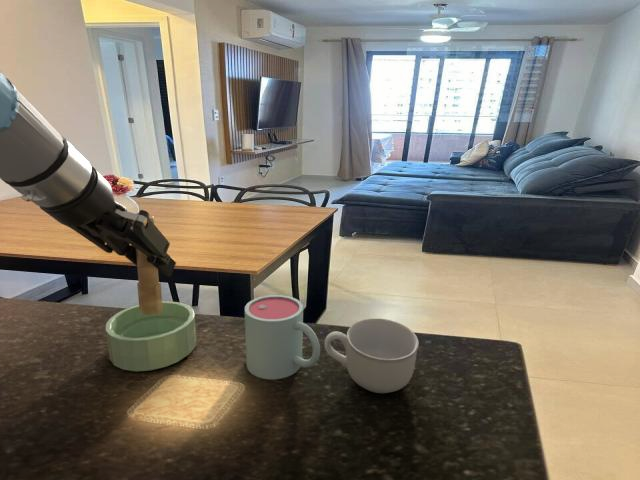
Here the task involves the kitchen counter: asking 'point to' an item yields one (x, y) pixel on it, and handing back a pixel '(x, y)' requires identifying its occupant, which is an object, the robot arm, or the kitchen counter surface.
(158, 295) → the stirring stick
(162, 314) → the bowl
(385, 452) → the kitchen counter surface
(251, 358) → the mug
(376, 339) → the teacup
